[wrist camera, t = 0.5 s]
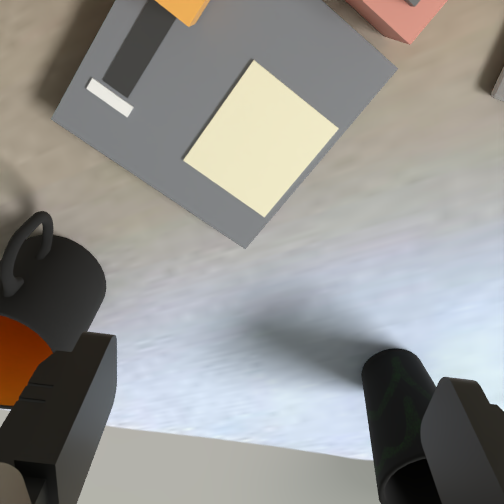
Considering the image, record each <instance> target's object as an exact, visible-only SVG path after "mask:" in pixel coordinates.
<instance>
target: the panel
mask: <svg viewBox="0 0 504 504" xmlns="http://www.w3.org/2000/svg"><path fill="white" fill-rule="evenodd" d="M397 69H398V68H397V67H396V66H395V65H393V64H392V63H391V62H390V61H389V60H388V59H387V58H386V57H385V56H383V55H382V54H381V53H380V52H379V51H378V50H377V49H376V48H374V47H373V46H372V45H371V44H370V43H369V42H368V41H367V40H366V39H364V38H363V37H362V36H361V35H360V34H359V33H358V32H357V31H355V30H354V29H353V28H352V27H351V26H350V25H349V24H348V23H347V22H345V21H344V20H343V19H342V18H341V17H340V16H339V15H338V14H336V13H335V12H334V11H333V10H332V9H331V8H330V7H329V6H328V5H326V4H325V3H324V2H323V1H322V0H210V1H209V3H208V4H207V6H206V8H205V9H204V11H203V12H202V14H201V16H200V17H199V19H198V20H197V22H196V24H194V25H192V26H190V27H188V26H187V25H185V24H184V23H183V22H182V21H180V20H179V19H178V18H177V17H175V16H174V15H173V14H172V13H170V12H169V11H168V10H167V9H165V8H164V7H163V6H161V5H160V4H159V3H158V2H156V1H155V0H115V2H114V4H113V6H112V8H111V9H110V11H109V13H108V15H107V17H106V19H105V20H104V22H103V24H102V26H101V28H100V30H99V31H98V33H97V35H96V37H95V39H94V41H93V42H92V44H91V46H90V48H89V50H88V52H87V54H86V55H85V57H84V59H83V61H82V63H81V65H80V66H79V68H78V70H77V72H76V74H75V76H74V77H73V79H72V81H71V83H70V85H69V87H68V88H67V90H66V92H65V94H64V96H63V98H62V99H61V101H60V103H59V105H58V107H57V109H56V110H55V112H54V114H53V116H52V118H51V120H53V121H54V122H56V123H57V124H59V125H60V126H62V127H63V128H65V129H66V130H68V131H69V132H71V133H72V134H74V135H75V136H77V137H78V138H80V139H81V140H83V141H84V142H86V143H87V144H89V145H90V146H92V147H93V148H95V149H96V150H98V151H99V152H101V153H102V154H104V155H105V156H107V157H108V158H110V159H111V160H113V161H114V162H116V163H117V164H119V165H120V166H122V167H123V168H125V169H126V170H128V171H129V172H131V173H132V174H134V175H135V176H137V177H138V178H140V179H141V180H143V181H144V182H146V183H147V184H149V185H150V186H152V187H153V188H155V189H156V190H158V191H159V192H161V193H162V194H164V195H165V196H167V197H168V198H170V199H171V200H173V201H174V202H176V203H177V204H179V205H180V206H181V207H183V208H184V209H186V210H187V211H189V212H190V213H192V214H193V215H195V216H196V217H198V218H199V219H201V220H202V221H204V222H205V223H207V224H208V225H210V226H211V227H213V228H214V229H216V230H217V231H219V232H220V233H222V234H223V235H225V236H226V237H228V238H229V239H231V240H232V241H234V242H235V243H237V244H238V245H240V246H241V247H243V248H244V249H246V248H247V247H248V245H249V244H250V243H251V242H252V241H253V240H254V238H255V237H256V236H257V235H258V234H259V232H260V231H261V230H262V229H263V228H264V227H265V225H266V224H267V223H268V222H269V221H270V219H271V218H272V217H273V216H274V215H275V214H276V212H277V211H278V210H279V209H280V208H281V206H282V205H283V204H284V203H285V202H286V201H287V199H288V198H289V197H290V196H291V195H292V193H293V192H294V191H295V190H296V189H297V188H298V186H299V185H300V184H301V183H302V182H303V180H304V179H305V178H306V177H307V176H308V175H309V173H310V172H311V171H312V170H313V169H314V167H315V166H316V165H317V164H318V163H319V162H320V160H321V159H322V158H323V157H324V156H325V154H326V153H327V152H328V151H329V150H330V149H331V147H332V146H333V145H334V144H335V143H336V141H337V140H338V139H339V138H340V137H341V136H342V134H343V133H344V132H345V131H346V130H347V129H348V127H349V126H350V125H351V124H352V123H353V121H354V120H355V119H356V118H357V117H358V116H359V114H360V113H361V112H362V111H363V110H364V108H365V107H366V106H367V105H368V104H369V103H370V101H371V100H372V99H373V98H374V97H375V95H376V94H377V93H378V92H379V91H380V90H381V88H382V87H383V86H384V85H385V84H386V82H387V81H388V80H389V79H390V78H391V77H392V75H393V74H394V73H395V72H396V71H397Z"/></svg>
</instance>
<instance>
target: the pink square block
mask: <svg viewBox="0 0 504 504" xmlns="http://www.w3.org/2000/svg"><path fill="white" fill-rule="evenodd" d="M345 1H346V2H347V3H348V4H349V5H351V6H352V7H353V8H354V9H355V10H356V11H357V12H358V13H359V14H360V15H361V16H363V17H364V18H365V19H366V20H367V21H368V22H369V23H370V24H371V25H372V26H374V27H375V28H376V29H377V30H378V31H379V32H380V33H381V34H382V35H383V36H385V37H388V38H391V39H394V40H397V41H400V42H403V43H406V44H409V45H410V44H411V43H412V42H413V41H414V40H415V38H416V37H417V36H418V35H419V34H420V32H421V31H422V30H423V29H424V28H425V27H426V25H427V24H428V23H429V22H430V21H431V19H432V18H433V17H434V16H435V15H436V13H437V12H438V11H439V10H440V9H441V7H442V6H443V5H444V4H445V3H446V1H447V0H345Z"/></svg>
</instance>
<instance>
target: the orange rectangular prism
mask: <svg viewBox="0 0 504 504" xmlns="http://www.w3.org/2000/svg"><path fill="white" fill-rule="evenodd" d="M155 1H156V2H158V3H159V4H160V5H161V6H163V7H164V8H165V9H167V10H168V11H169V12H170V13H172V14H173V15H174V16H175V17H177V18H178V19H179V20H180V21H182V22H183V23H184V24H185V25H187V26H188V27H190V26H192V25H194V24H196V22H197V20H198V19H199V17H200V16H201V14H202V12H203V11H204V9H205V8H206V6H207V4H208V3H209V1H210V0H155Z"/></svg>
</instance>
